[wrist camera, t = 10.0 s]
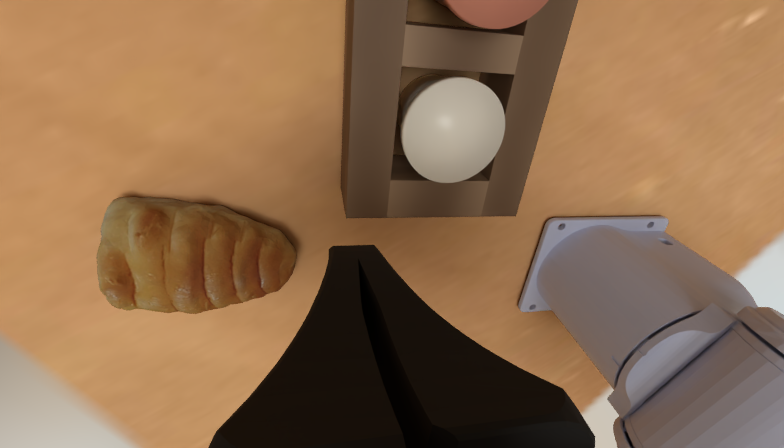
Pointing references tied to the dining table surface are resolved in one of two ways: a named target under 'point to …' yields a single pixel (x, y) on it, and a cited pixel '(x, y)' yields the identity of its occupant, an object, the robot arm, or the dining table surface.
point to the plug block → (451, 52)
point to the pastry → (187, 256)
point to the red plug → (494, 11)
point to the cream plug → (449, 126)
